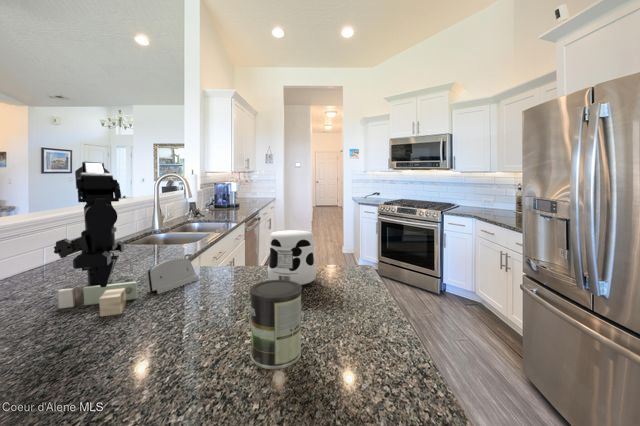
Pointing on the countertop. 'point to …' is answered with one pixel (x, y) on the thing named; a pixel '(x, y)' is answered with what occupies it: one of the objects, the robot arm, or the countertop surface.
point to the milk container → (292, 256)
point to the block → (112, 302)
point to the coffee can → (275, 323)
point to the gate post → (78, 295)
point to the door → (96, 292)
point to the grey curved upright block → (170, 275)
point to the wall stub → (66, 298)
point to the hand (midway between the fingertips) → (103, 286)
